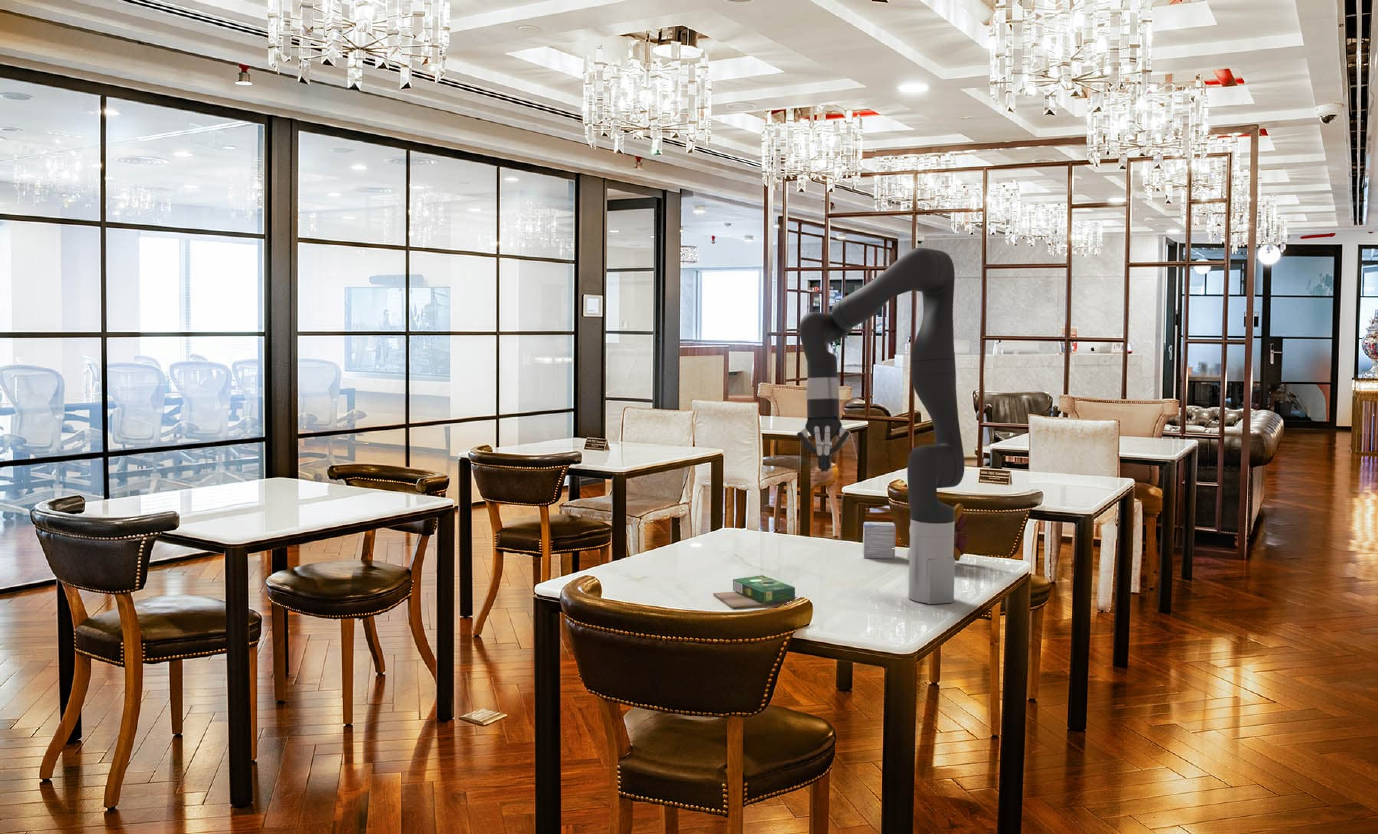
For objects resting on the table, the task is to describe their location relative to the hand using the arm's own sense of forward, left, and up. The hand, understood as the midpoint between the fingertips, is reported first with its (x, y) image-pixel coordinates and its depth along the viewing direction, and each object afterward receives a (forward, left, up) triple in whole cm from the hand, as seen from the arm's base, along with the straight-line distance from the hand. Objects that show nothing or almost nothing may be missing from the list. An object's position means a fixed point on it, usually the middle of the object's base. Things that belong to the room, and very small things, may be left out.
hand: (824, 471), depth 254 cm
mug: (+2, -32, -25) cm, 41 cm away
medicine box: (+14, -22, -25) cm, 36 cm away
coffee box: (-11, +24, -23) cm, 34 cm away
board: (-18, +24, -24) cm, 39 cm away
